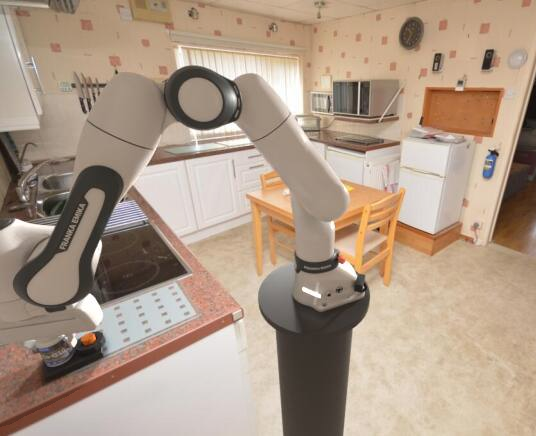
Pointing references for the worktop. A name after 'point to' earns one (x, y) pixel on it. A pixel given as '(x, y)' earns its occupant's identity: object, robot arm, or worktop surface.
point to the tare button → (88, 339)
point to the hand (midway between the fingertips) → (55, 348)
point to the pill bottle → (53, 350)
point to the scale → (77, 357)
